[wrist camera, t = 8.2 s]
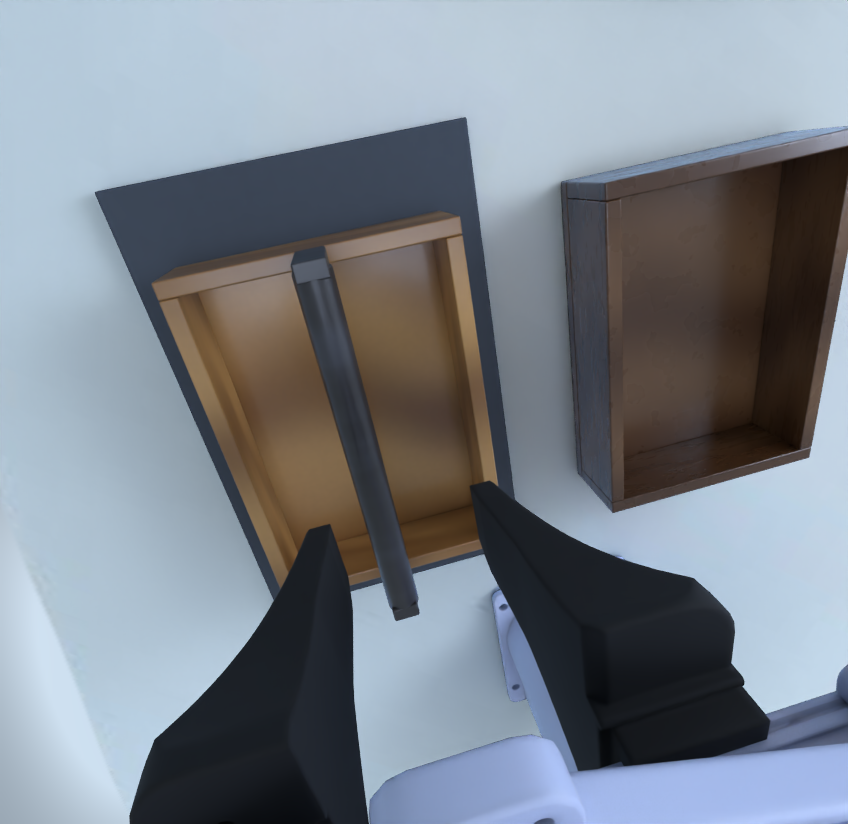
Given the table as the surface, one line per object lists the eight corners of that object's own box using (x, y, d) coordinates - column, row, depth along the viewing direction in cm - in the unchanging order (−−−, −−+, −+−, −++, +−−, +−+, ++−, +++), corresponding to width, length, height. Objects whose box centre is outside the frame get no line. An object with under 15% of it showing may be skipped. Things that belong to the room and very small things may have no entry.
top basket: (486, 504, 25) (528, 583, 20) (289, 557, 25) (282, 654, 20) (440, 210, 19) (483, 221, 14) (174, 267, 18) (120, 301, 13)
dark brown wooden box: (753, 425, 27) (809, 457, 24) (577, 473, 26) (612, 513, 23) (789, 131, 21) (872, 123, 18) (560, 181, 20) (605, 182, 17)
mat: (517, 539, 27) (520, 543, 27) (279, 606, 26) (278, 612, 26) (463, 118, 18) (466, 117, 18) (98, 191, 17) (93, 192, 17)
